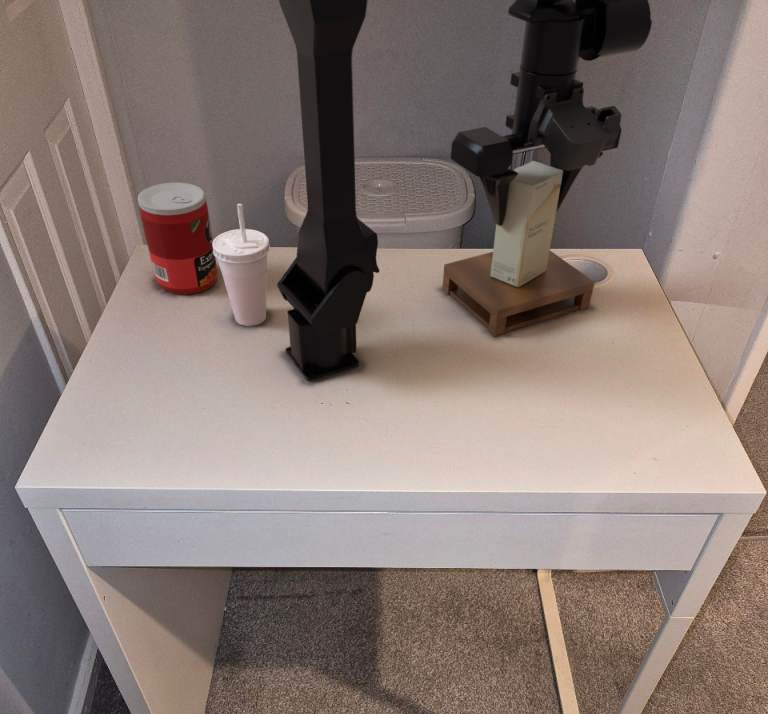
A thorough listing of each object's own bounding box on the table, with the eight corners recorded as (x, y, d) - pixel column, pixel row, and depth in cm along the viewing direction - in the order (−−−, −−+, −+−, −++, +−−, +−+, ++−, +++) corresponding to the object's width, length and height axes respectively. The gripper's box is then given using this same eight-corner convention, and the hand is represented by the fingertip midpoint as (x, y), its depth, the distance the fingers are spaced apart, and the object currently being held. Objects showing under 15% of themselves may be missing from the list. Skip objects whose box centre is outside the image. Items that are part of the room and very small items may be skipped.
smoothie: (254, 338, 89) (239, 222, 79) (212, 321, 91) (192, 207, 81) (287, 313, 93) (277, 199, 82) (246, 298, 95) (231, 185, 85)
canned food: (213, 296, 95) (198, 210, 87) (149, 295, 95) (129, 208, 87) (223, 265, 100) (210, 182, 93) (163, 264, 101) (145, 181, 93)
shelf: (494, 336, 89) (498, 310, 87) (442, 289, 97) (444, 264, 94) (589, 307, 94) (594, 282, 92) (532, 265, 101) (536, 240, 99)
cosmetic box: (518, 289, 90) (533, 186, 81) (488, 276, 92) (499, 175, 84) (547, 270, 93) (565, 169, 85) (518, 258, 95) (532, 158, 87)
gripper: (518, 106, 69) (498, 266, 80) (674, 77, 75) (635, 229, 86) (453, 71, 75) (443, 223, 87) (601, 47, 82) (574, 192, 93)
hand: (526, 217), depth 88 cm, fingers open, 7 cm apart
